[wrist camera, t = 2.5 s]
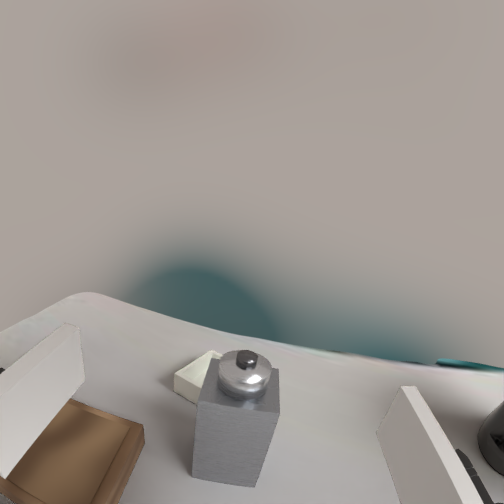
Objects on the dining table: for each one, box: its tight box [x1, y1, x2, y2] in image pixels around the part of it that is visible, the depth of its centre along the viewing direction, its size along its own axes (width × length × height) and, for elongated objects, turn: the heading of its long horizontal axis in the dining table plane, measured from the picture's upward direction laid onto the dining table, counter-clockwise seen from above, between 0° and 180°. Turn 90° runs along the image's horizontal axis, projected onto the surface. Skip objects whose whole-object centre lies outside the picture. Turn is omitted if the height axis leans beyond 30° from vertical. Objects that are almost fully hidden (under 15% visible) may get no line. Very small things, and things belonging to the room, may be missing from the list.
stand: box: [0, 399, 145, 504], centre depth 18 cm, size 14×14×3 cm
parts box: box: [174, 350, 223, 405], centre depth 37 cm, size 8×6×3 cm
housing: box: [192, 350, 280, 487], centre depth 24 cm, size 6×6×14 cm
